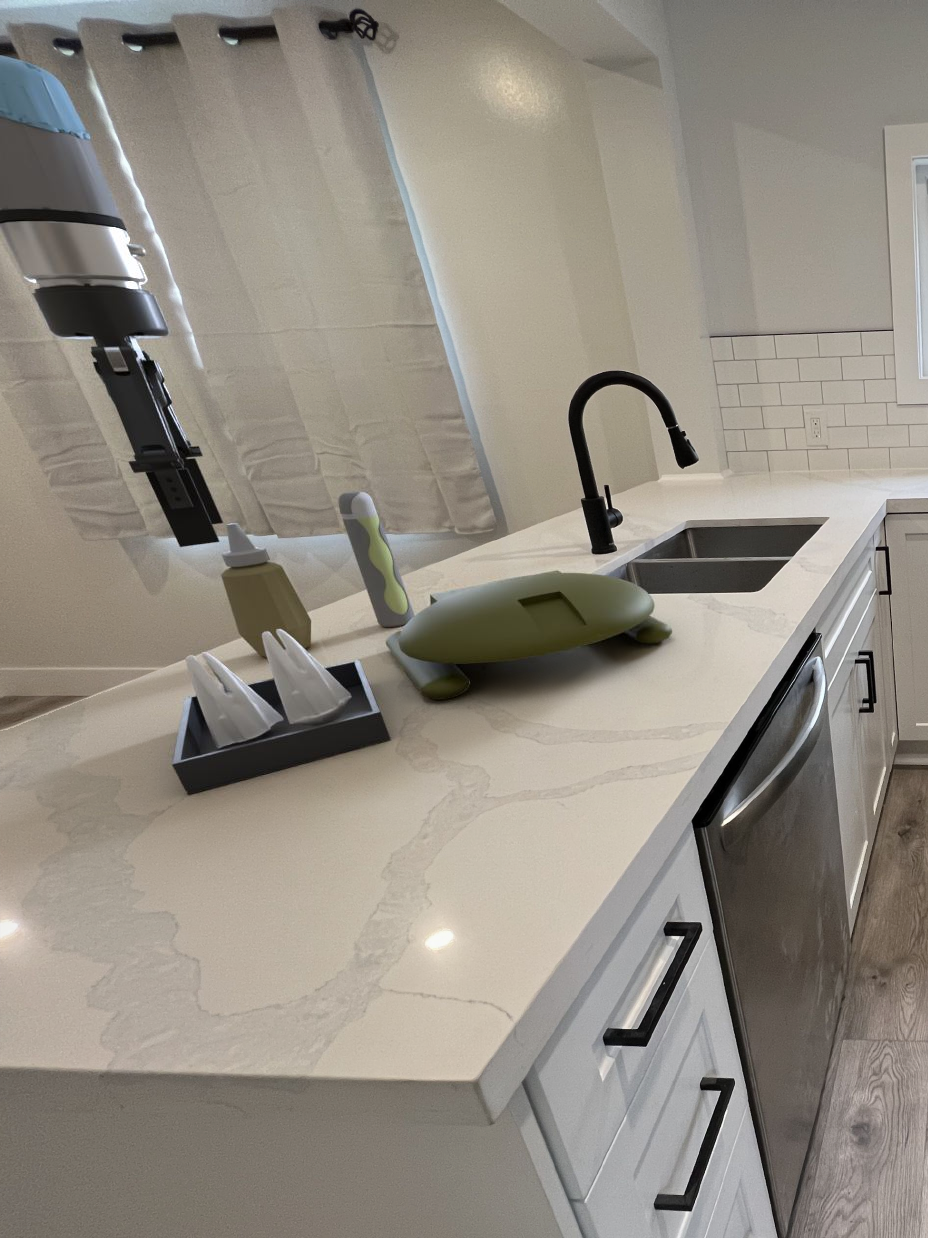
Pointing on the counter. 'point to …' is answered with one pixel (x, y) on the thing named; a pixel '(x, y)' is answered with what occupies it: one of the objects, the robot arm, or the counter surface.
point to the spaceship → (518, 624)
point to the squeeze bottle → (261, 594)
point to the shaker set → (246, 713)
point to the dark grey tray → (276, 736)
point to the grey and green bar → (375, 559)
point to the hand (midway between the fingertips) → (203, 534)
